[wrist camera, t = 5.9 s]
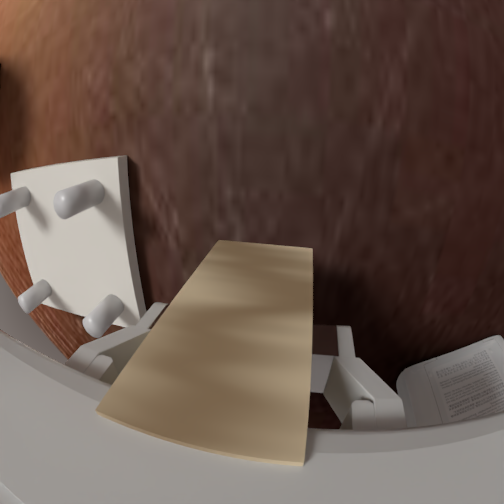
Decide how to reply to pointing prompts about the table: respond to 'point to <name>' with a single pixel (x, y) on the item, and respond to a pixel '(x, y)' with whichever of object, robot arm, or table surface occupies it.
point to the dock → (79, 240)
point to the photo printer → (455, 385)
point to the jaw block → (228, 358)
